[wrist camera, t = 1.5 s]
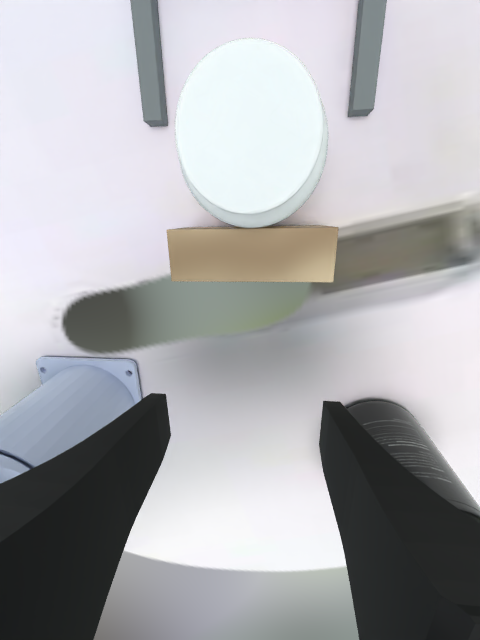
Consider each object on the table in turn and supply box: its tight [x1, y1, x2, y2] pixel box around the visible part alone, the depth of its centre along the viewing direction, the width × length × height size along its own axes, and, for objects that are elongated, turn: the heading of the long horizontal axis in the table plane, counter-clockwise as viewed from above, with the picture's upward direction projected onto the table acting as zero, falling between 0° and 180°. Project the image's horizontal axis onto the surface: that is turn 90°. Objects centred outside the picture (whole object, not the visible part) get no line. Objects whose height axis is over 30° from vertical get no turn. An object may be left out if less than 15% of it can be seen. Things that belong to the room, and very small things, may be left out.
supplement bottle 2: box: [347, 401, 480, 523], centre depth 16 cm, size 7×7×12 cm
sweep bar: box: [167, 225, 338, 282], centre depth 16 cm, size 2×8×4 cm, turn 91°
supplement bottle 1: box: [175, 38, 328, 228], centre depth 12 cm, size 5×5×10 cm
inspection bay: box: [130, 0, 387, 126], centre depth 14 cm, size 7×12×1 cm, turn 91°
